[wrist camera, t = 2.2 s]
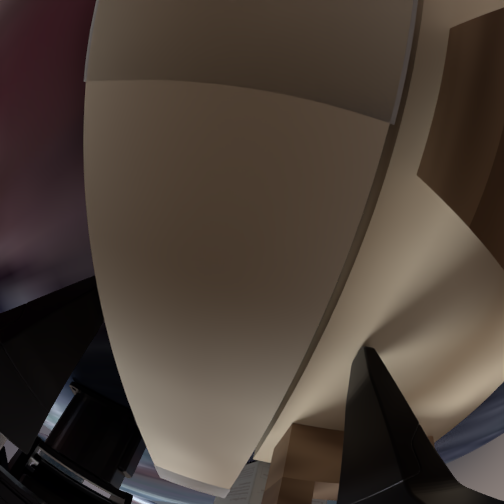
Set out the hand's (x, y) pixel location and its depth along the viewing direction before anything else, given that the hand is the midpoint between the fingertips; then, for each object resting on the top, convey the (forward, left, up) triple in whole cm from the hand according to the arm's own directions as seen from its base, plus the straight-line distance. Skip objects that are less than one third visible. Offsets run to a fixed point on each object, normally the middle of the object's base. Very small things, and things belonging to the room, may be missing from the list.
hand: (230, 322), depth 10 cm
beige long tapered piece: (+8, 0, -1) cm, 8 cm away
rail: (0, 0, -1) cm, 1 cm away
